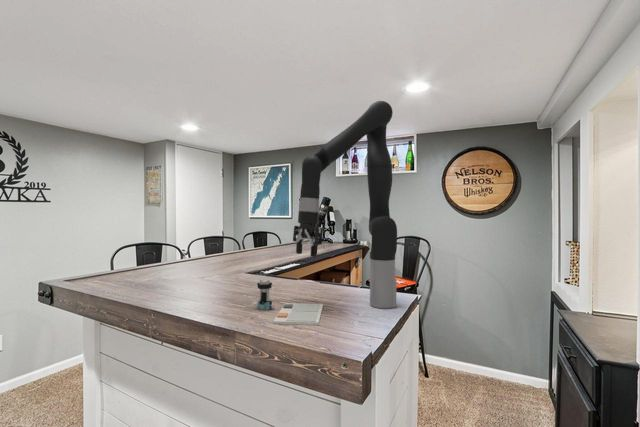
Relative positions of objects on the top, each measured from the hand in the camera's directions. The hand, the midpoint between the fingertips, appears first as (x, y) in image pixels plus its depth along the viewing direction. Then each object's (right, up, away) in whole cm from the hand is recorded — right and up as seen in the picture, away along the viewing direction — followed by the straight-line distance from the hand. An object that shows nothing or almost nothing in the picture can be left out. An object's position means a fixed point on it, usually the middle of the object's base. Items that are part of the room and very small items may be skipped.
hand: (305, 254), depth 113 cm
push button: (-14, -19, -3) cm, 24 cm away
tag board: (-1, -19, -9) cm, 21 cm away
